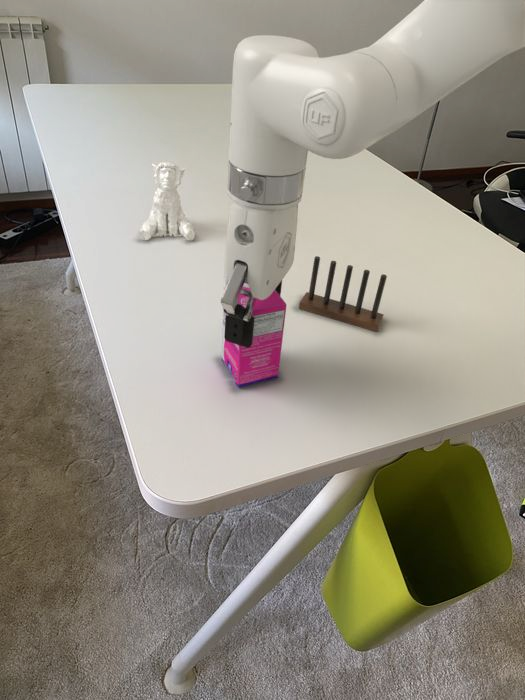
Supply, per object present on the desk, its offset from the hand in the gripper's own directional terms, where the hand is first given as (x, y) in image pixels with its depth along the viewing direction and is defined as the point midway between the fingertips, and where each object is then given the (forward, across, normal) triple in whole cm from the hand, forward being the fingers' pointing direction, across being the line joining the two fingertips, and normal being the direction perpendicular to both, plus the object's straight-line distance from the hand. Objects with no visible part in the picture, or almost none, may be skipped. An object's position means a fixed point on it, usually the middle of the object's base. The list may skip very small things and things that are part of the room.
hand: (252, 322), depth 65 cm
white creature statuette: (+8, +28, +28) cm, 40 cm away
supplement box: (+8, 0, 0) cm, 8 cm away
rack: (+7, +18, -7) cm, 21 cm away
